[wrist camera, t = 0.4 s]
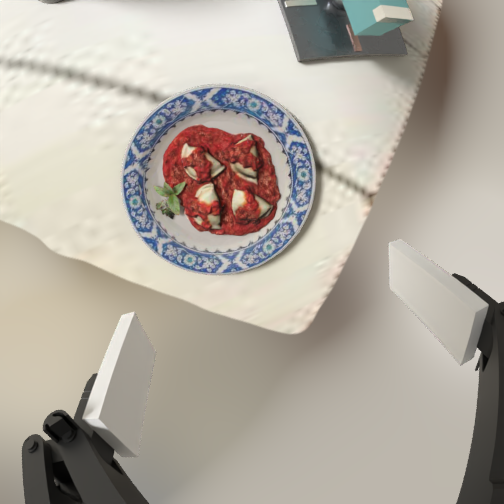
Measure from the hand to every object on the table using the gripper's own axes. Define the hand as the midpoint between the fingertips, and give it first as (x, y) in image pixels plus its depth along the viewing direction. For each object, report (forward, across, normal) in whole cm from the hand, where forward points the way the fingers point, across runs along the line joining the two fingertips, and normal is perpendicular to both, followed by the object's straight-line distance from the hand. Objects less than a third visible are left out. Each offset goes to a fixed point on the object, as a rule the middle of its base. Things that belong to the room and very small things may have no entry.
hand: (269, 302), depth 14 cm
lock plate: (+28, +22, +25) cm, 43 cm away
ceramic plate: (+28, -2, +2) cm, 28 cm away
